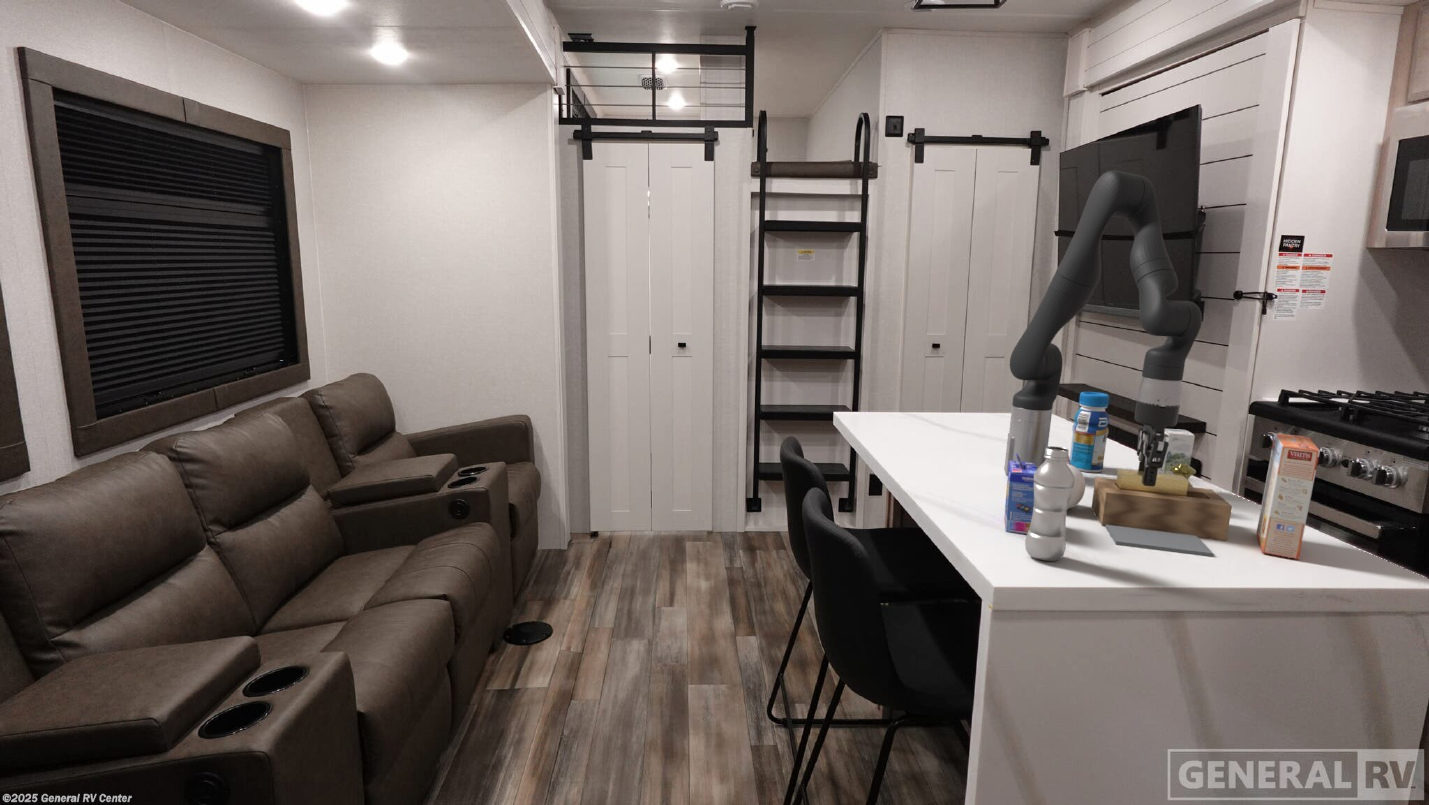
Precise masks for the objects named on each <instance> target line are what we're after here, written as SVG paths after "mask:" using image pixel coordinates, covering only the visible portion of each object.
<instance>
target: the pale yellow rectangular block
mask: <svg viewBox="0 0 1429 805" xmlns="http://www.w3.org/2000/svg"><path fill="white" fill-rule="evenodd" d="M1143 475H1144V472H1143V471H1138V470H1132V469H1123V468H1118V469H1117V475H1116V479H1117V480H1116V486H1117V487H1118V489H1120V490H1129V491H1138V492H1148V493H1157V494H1166V495H1176V496H1185V497H1186V494H1187V488H1188V482H1190V480H1189V479H1188V480H1189V481H1188V480H1187V479H1186V478H1185V477H1184V476H1181V475H1172V474H1162V473H1157V478H1156V484H1155V486H1153V487H1152V486H1145V485H1143V483H1142V482H1143Z"/></svg>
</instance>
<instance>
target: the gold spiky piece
mask: <svg viewBox="0 0 1429 805" xmlns="http://www.w3.org/2000/svg"><path fill="white" fill-rule="evenodd" d="M1169 469H1170V471H1171V472H1172V473H1173V474H1174V475H1181V476H1184V477H1185V478H1186V479H1187V480H1188V481H1189V482H1188V487H1194V486H1193V484H1192V483H1191V482H1190V480H1189V478H1190V477H1192V476H1193V475H1196V473H1197V471H1196V469H1194V468H1193V467H1192V466H1190V467H1189V466H1188V465H1187V464H1178V465H1174V466H1171V467H1170V468H1169Z"/></svg>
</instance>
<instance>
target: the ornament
mask: <svg viewBox="0 0 1429 805" xmlns="http://www.w3.org/2000/svg"><path fill="white" fill-rule="evenodd" d="M1068 457H1069V459H1068V461H1066V464H1067V465H1068V467H1069V468H1070V470H1071V471H1072V473H1073V475H1074V486H1073V489H1072V493H1071V496H1070V499H1069V503H1068V508H1067V510H1068V509H1072V508H1074V507H1076V506H1077V505H1078V504H1079V503H1080V502H1081V501H1082V499H1083V497H1084V495H1085V491H1086V482H1085V478H1084V475H1083V473H1082V471H1080V470H1079V469H1078V468H1076V467H1075V466H1073V465H1071V463H1070V455H1069V454H1068Z"/></svg>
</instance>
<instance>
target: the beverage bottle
mask: <svg viewBox="0 0 1429 805" xmlns="http://www.w3.org/2000/svg"><path fill="white" fill-rule="evenodd" d="M1109 401H1110V395H1108V393H1103V392H1098V391H1097V392H1096V391H1095V392H1094V391H1081V392H1080V394H1079V402H1078V403H1079V406H1081V407H1080V408H1079V409H1078V410H1077V411H1076V413H1075V415H1074V417H1073V419H1074V423H1073V425H1072V427H1071V428H1072V429H1071V431H1072V436H1071V437H1072V438H1071V445H1070V451H1069V454H1070V455H1069V459H1070V463H1071V465H1073V466H1075V467H1076V468H1078V469H1079V470H1080V472H1084V473H1101V472H1102V471H1103V470H1104V460H1105V454H1106V445H1107V440H1108V435H1109V427H1108V425H1109V424H1110V418H1109V415H1108V413H1107V411H1106V409H1108V406H1109Z"/></svg>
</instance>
